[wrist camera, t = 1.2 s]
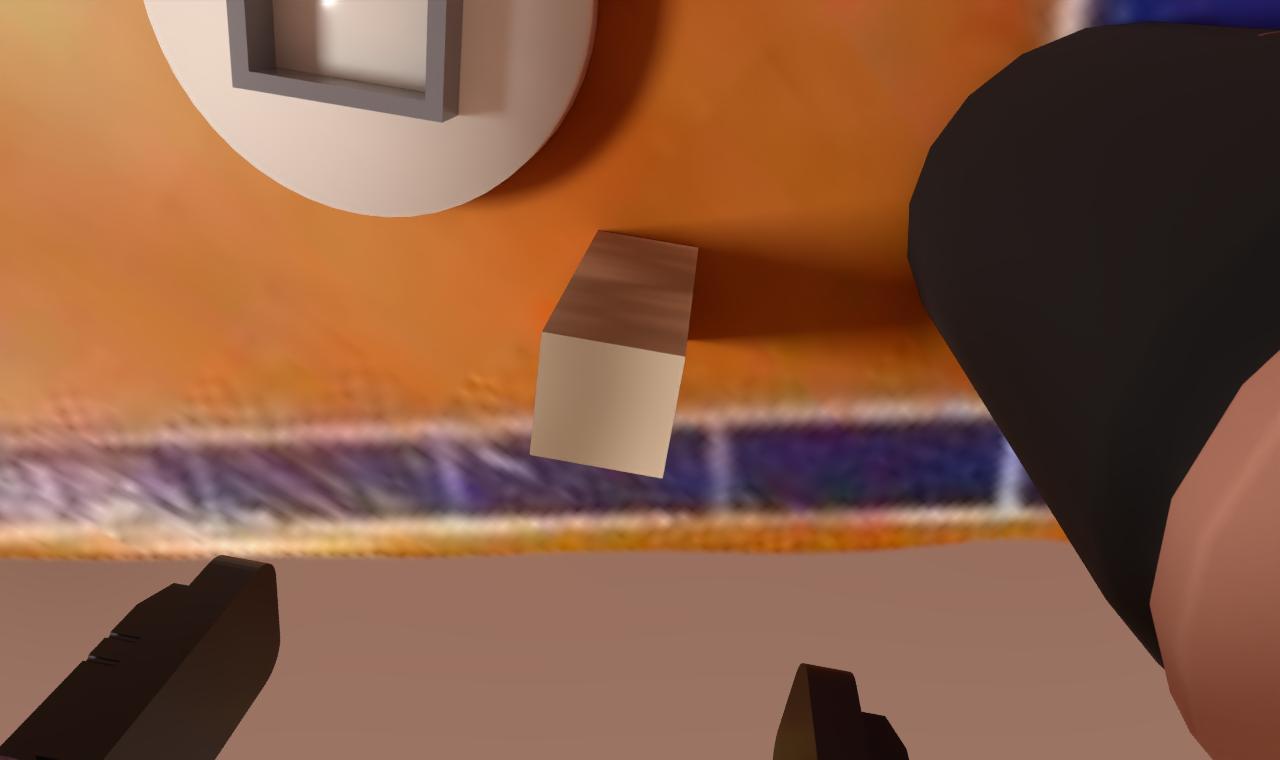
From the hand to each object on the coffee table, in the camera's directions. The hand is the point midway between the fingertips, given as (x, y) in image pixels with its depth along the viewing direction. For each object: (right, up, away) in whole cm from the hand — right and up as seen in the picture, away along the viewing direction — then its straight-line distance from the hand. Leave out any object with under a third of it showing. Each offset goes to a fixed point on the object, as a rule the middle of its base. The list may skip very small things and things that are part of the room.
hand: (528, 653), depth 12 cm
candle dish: (-6, +16, +12) cm, 21 cm away
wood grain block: (+2, +7, +15) cm, 17 cm away
